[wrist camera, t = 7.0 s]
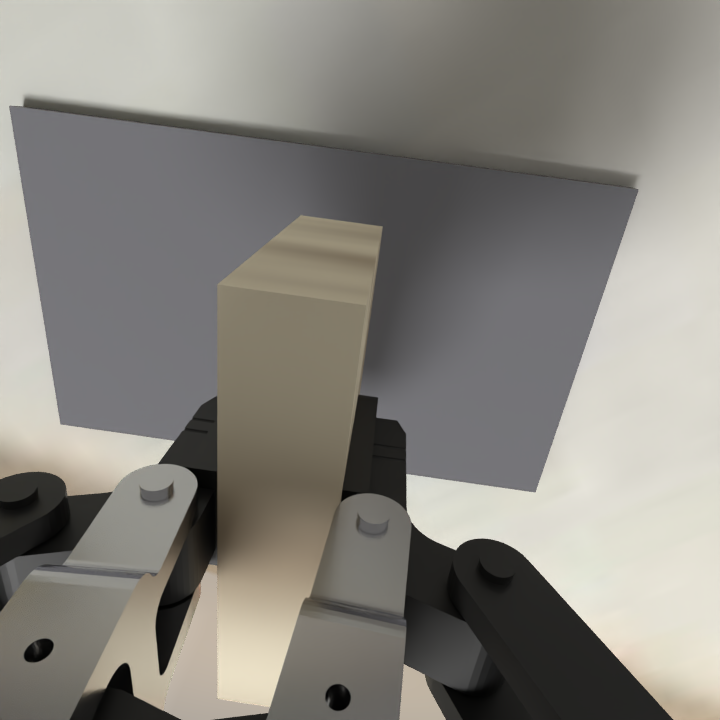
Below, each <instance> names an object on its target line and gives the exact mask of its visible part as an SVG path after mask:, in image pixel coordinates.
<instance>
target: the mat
mask: <svg viewBox="0 0 720 720" xmlns="http://www.w3.org/2000/svg"><path fill="white" fill-rule="evenodd" d="M9 108H10V114H11V120H12V126H13V132H14V139H15V145H16V151H17V157H18V163H19V170H20V176H21V182H22V188H23V194H24V201H25V207H26V213H27V219H28V225H29V232H30V238H31V244H32V250H33V256H34V262H35V269H36V275H37V281H38V287H39V293H40V300H41V306H42V312H43V318H44V324H45V331H46V337H47V343H48V349H49V355H50V362H51V368H52V374H53V380H54V386H55V393H56V399H57V405H58V411H59V417H60V424H62V425H69V426H76V427H83V428H90V429H97V430H104V431H111V432H118V433H125V434H132V435H139V436H146V437H153V438H160V439H167V440H174V441H175V440H176V439H177V438H178V436H179V435H180V433H181V432H182V431H184V429H185V427H186V425H187V424H188V423H189V421H190V420H192V417H193V416H194V414H195V413H196V412H197V410H198V409H199V408H200V406H201V405H202V404H204V403H205V402H207V401H209V400H211V399H212V398H214V397H216V396H217V284H218V283H220V282H221V281H222V280H223V279H224V278H226V277H227V276H228V275H229V274H230V273H232V272H233V271H234V270H235V269H236V268H238V267H239V266H240V265H241V264H243V263H244V262H245V261H246V260H247V259H249V258H250V257H251V256H252V255H253V254H255V253H256V252H257V251H258V250H259V249H261V248H262V247H263V246H264V245H265V244H267V243H268V242H269V241H270V240H271V239H273V238H274V237H275V236H276V235H278V234H279V233H280V232H281V231H282V230H284V229H285V228H286V227H287V226H288V225H290V224H291V223H292V222H293V221H294V220H296V219H297V218H298V217H299V216H300V215H303V216H310V217H317V218H325V219H332V220H339V221H346V222H354V223H361V224H368V225H375V226H383V228H382V236H381V243H380V250H379V257H378V265H377V272H376V279H375V286H374V294H373V301H372V308H371V316H370V323H369V330H368V337H367V345H366V352H365V359H364V366H363V374H362V381H361V388H360V395H365V396H373V397H378V405H377V415H376V418H383V419H390V420H397V421H398V422H399V424H400V425H401V427H402V428H403V430H404V431H405V433H406V474H411V475H418V476H425V477H432V478H439V479H446V480H453V481H460V482H467V483H474V484H481V485H488V486H495V487H502V488H508V489H515V490H522V491H529V492H536V489H537V486H538V483H539V480H540V477H541V474H542V471H543V468H544V465H545V463H546V460H547V457H548V454H549V451H550V448H551V445H552V442H553V439H554V436H555V433H556V430H557V427H558V424H559V422H560V419H561V416H562V413H563V410H564V407H565V404H566V401H567V398H568V395H569V392H570V389H571V386H572V383H573V380H574V378H575V375H576V372H577V369H578V366H579V363H580V360H581V357H582V354H583V351H584V348H585V345H586V342H587V339H588V337H589V334H590V331H591V328H592V325H593V322H594V319H595V316H596V313H597V310H598V307H599V304H600V301H601V298H602V295H603V293H604V290H605V287H606V284H607V281H608V278H609V275H610V272H611V269H612V266H613V263H614V260H615V257H616V254H617V251H618V249H619V246H620V243H621V240H622V237H623V234H624V231H625V228H626V225H627V222H628V219H629V216H630V213H631V210H632V208H633V205H634V202H635V199H636V196H637V193H638V189H634V188H631V187H623V186H616V185H608V184H600V183H593V182H585V181H578V180H570V179H563V178H555V177H548V176H540V175H533V174H525V173H518V172H510V171H503V170H495V169H488V168H480V167H473V166H465V165H458V164H450V163H443V162H435V161H428V160H420V159H413V158H405V157H398V156H390V155H383V154H375V153H368V152H360V151H353V150H345V149H338V148H330V147H322V146H315V145H307V144H300V143H292V142H285V141H277V140H270V139H262V138H255V137H247V136H240V135H232V134H225V133H217V132H210V131H202V130H195V129H187V128H180V127H172V126H165V125H157V124H150V123H142V122H135V121H127V120H120V119H112V118H105V117H97V116H90V115H82V114H75V113H67V112H59V111H52V110H44V109H37V108H29V107H22V106H9Z"/></svg>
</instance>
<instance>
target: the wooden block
mask: <svg viewBox="0 0 720 720" xmlns="http://www.w3.org/2000/svg"><path fill="white" fill-rule="evenodd" d="M382 228H383V226H375V225H368V224H361V223H354V222H346V221H339V220H332V219H325V218H317V217H310V216H303V215H300V216H299V217H298V218H297V219H296V220H294V221H293V222H292V223H291V224H290V225H288V226H287V227H286V228H285V229H284V230H282V231H281V232H280V233H279V234H278V235H276V236H275V237H274V238H273V239H271V240H270V241H269V242H268V243H267V244H265V245H264V246H263V247H262V248H261V249H259V250H258V251H257V252H256V253H255V254H253V255H252V256H251V257H250V258H249V259H247V260H246V261H245V262H244V263H243V264H241V265H240V266H239V267H238V268H236V269H235V270H234V271H233V272H232V273H230V274H229V275H228V276H227V277H226V278H224V279H223V280H222V281H221V282H220V283H218V284H217V580H218V581H217V582H218V583H217V584H218V586H217V587H218V588H217V595H218V699H222V700H228V701H234V702H241V703H248V704H253V705H260V706H266V707H270V706H271V703H272V699H273V696H274V693H275V690H276V686H277V683H278V680H279V677H280V673H281V670H282V667H283V664H284V660H285V657H286V654H287V651H288V647H289V644H290V641H291V638H292V634H293V631H294V628H295V625H296V621H297V618H298V615H299V612H300V609H301V606H302V603H303V601H304V599H305V598H306V597H308V598H309V597H310V594H311V591H312V588H313V584H314V581H315V578H316V574H317V571H318V567H319V564H320V561H321V557H322V554H323V550H324V547H325V544H326V540H327V537H328V534H329V530H330V527H331V523H332V520H333V517H334V513H335V510H336V508H337V507H338V505H339V504H340V503H341V496H342V489H343V483H344V477H345V471H346V465H347V459H348V453H349V447H350V441H351V435H352V429H353V424H354V418H355V412H356V406H357V400H358V395H360V388H361V381H362V374H363V366H364V359H365V352H366V345H367V337H368V330H369V323H370V316H371V308H372V301H373V294H374V286H375V279H376V272H377V265H378V257H379V250H380V243H381V236H382Z"/></svg>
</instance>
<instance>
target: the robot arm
mask: <svg viewBox="0 0 720 720" xmlns="http://www.w3.org/2000/svg"><path fill="white" fill-rule="evenodd" d="M377 405H378V397H373V396H365V395H358V400H357V406H356V412H355V418H354V424H353V429H352V435H351V441H350V447H349V453H348V459H347V465H346V471H345V477H344V483H343V489H342V496H341V503H340V504H339V505H338V507H337V508H336V510H335V513H334V517H333V520H332V523H331V527H330V530H329V534H328V537H327V540H326V544H325V547H324V550H323V554H322V557H321V561H320V564H319V567H318V571H317V574H316V578H315V581H314V584H313V588H312V591H311V594H310V597H309V598H308V597H306V598H305V599H304V601H303V603H302V606H301V609H300V612H299V615H298V618H297V621H296V625H295V628H294V631H293V634H292V638H291V641H290V644H289V647H288V651H287V654H286V657H285V660H284V664H283V667H282V670H281V673H280V677H279V680H278V683H277V686H276V690H275V693H274V696H273V699H272V703H271V706H270V709H269V713H265V714H257V715H248V716H240V717H232V718H224V719H215V720H399V716H400V702H401V690H402V678H403V666H404V664H405V665H407V666H409V667H411V668H413V669H415V670H417V671H419V672H421V673H423V674H425V678H426V681H427V685H428V687H429V689H430V691H431V693H432V694H433V697H434V698H435V700H436V702H437V704H438V706H439V707H440V709H441V711H442V713H443V715H444V717H445V718H446V720H673V719H672V718H671V717H670V716H669V715H668V713H667V712H666V711H665V710H664V709H663V708H662V707H661V706H660V705H659V704H658V702H657V701H656V700H655V699H654V698H653V697H652V696H651V695H650V694H649V693H648V691H647V690H646V689H645V688H644V687H643V686H642V685H641V684H640V683H639V682H638V680H637V679H636V678H635V677H634V676H633V675H632V674H631V673H630V672H629V671H628V669H627V668H626V667H625V666H624V665H623V664H622V663H621V662H620V661H619V660H618V658H617V657H616V656H615V655H614V654H613V653H612V652H611V651H610V650H609V649H608V648H607V646H606V645H605V644H604V643H603V642H602V641H601V640H600V639H599V638H598V637H597V635H596V634H595V633H594V632H593V631H592V630H591V629H590V628H589V627H588V626H587V624H586V623H585V622H584V621H583V620H582V619H581V618H580V617H579V616H578V615H577V613H576V612H575V611H574V610H573V609H572V608H571V607H570V606H569V605H568V604H567V602H566V601H565V600H564V599H563V598H562V597H561V596H560V595H559V594H558V593H557V591H556V590H555V589H554V588H553V587H552V586H551V585H550V584H549V583H548V582H547V580H546V579H545V578H544V577H543V576H542V575H541V574H540V573H539V572H538V571H537V570H536V568H535V567H534V566H533V565H532V564H531V563H530V562H529V561H528V560H527V559H526V558H525V557H524V556H523V555H522V554H521V553H520V552H518V551H517V550H515V549H514V548H512V547H510V546H508V545H506V544H504V543H502V542H499V541H495V540H491V539H473V540H469V541H467V542H465V543H463V544H462V545H460V546H459V547H458V548H457V550H454V549H451V548H449V547H446V546H444V545H442V544H439V543H437V542H435V541H433V540H431V539H429V538H428V537H426V536H425V535H423V534H422V533H421V532H420V531H419V530H418V529H417V528H416V527H415V526H414V525H413V524H412V522H411V520H410V517H409V515H408V513H407V508H406V433H405V431H404V430H403V428H402V427H401V425H400V424H399V422H398V421H397V420H390V419H383V418H376V415H377ZM209 564H211V565H217V396H216V397H214V398H212V399H211V400H209V401H207V402H205V403H204V404H202V405H201V406H200V408H199V409H198V410H197V412H196V413H195V414H194V416H193V417H192V420H190V421H189V423H188V424H187V425H186V427H185V429H184V431H182V432H181V433H180V435H179V436H178V438H177V439H176V440H175V442H174V443H173V444H172V446H171V447H170V448H169V450H168V451H167V452H166V454H165V455H164V457H163V458H162V459H161V461H160V462H159V463H158V464H156V465H150V466H146V467H143V468H140V469H138V470H136V471H134V472H132V473H130V474H128V475H127V476H126V477H124V478H123V479H122V480H121V481H120V482H119V484H118V485H117V486H116V488H115V489H114V491H113V492H109V493H100V494H88V495H75V496H67V491H66V485H65V483H64V481H63V480H62V479H61V478H59V477H58V476H56V475H53V474H50V473H45V472H27V473H21V474H16V475H12V476H9V477H5V478H3V479H0V720H181V719H179V718H176V717H175V716H173V715H170V714H169V713H167V712H165V711H164V704H165V699H166V695H167V691H168V687H169V684H170V681H171V679H172V676H173V672H174V670H175V667H176V664H177V661H178V658H179V655H180V653H181V650H182V647H183V644H184V641H185V638H186V635H187V632H188V629H189V627H190V624H191V621H192V618H193V615H194V612H195V609H196V606H197V603H198V601H199V598H200V593H201V580H202V578H203V575H204V573H205V571H206V569H207V567H208V565H209Z"/></svg>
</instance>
